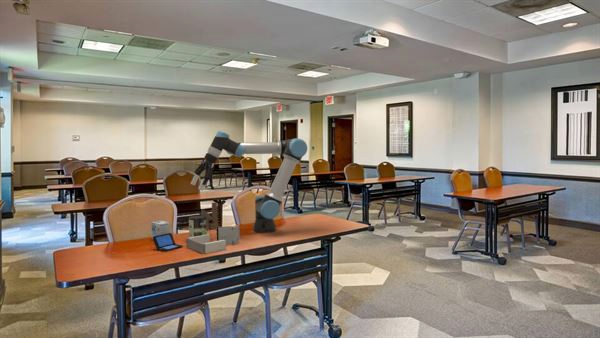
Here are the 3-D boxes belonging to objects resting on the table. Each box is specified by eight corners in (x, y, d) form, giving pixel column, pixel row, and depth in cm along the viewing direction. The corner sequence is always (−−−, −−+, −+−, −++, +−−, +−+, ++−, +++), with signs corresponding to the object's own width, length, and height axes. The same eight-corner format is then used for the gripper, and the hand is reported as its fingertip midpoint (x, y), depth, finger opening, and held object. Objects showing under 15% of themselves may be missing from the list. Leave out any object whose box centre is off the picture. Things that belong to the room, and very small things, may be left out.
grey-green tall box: (210, 238, 236) (209, 215, 235) (201, 242, 226) (200, 218, 225) (195, 237, 239) (194, 214, 238) (185, 241, 229) (185, 217, 228)
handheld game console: (165, 252, 206) (164, 238, 205) (152, 250, 211) (151, 236, 211) (183, 247, 216) (183, 234, 216) (171, 245, 222) (170, 232, 221)
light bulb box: (151, 239, 236) (151, 221, 236) (162, 237, 241) (161, 220, 241) (160, 242, 229) (159, 223, 229) (170, 239, 234) (170, 222, 233)
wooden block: (201, 230, 261) (201, 203, 260) (216, 227, 268) (215, 202, 267) (204, 231, 258) (203, 204, 257) (218, 228, 265) (218, 202, 264)
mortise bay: (208, 242, 225) (208, 234, 225) (225, 249, 210) (225, 240, 209) (186, 246, 216) (186, 238, 216) (202, 253, 201) (202, 244, 201)
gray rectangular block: (239, 241, 227) (238, 224, 227) (242, 243, 223) (242, 226, 222) (215, 244, 221) (215, 227, 220) (218, 246, 216) (218, 228, 215)
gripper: (199, 149, 240) (184, 180, 238) (215, 155, 220) (198, 189, 218) (210, 154, 244) (194, 184, 242) (226, 161, 224) (209, 194, 222)
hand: (196, 187), depth 230 cm, fingers open, 13 cm apart
